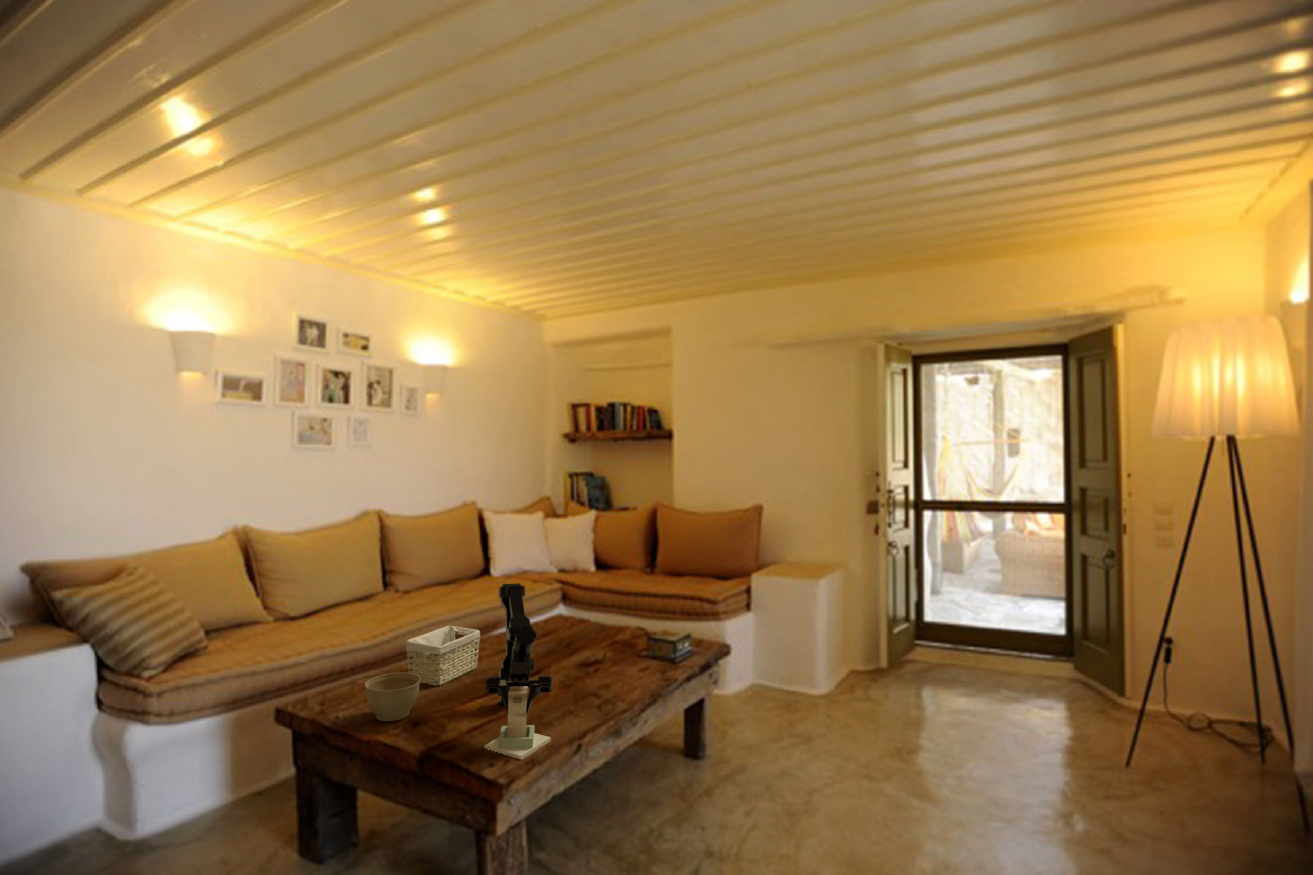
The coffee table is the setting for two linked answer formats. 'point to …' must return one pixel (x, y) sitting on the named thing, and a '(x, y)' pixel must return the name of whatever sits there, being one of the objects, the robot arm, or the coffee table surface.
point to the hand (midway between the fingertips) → (517, 713)
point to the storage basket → (443, 654)
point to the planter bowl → (392, 695)
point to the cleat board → (519, 751)
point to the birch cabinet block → (517, 711)
